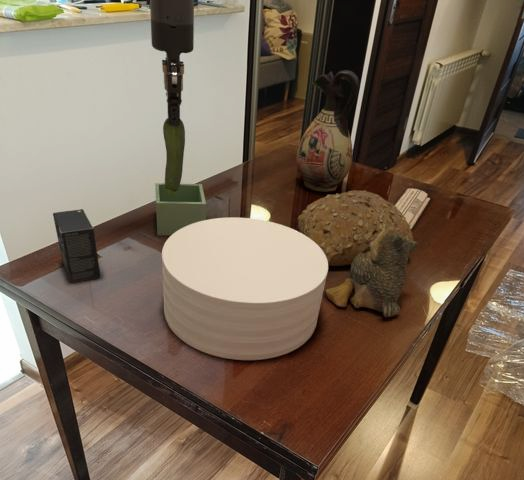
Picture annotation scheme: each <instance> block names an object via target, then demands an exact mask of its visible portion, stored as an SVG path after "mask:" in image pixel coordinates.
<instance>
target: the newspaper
mask: <svg viewBox="0 0 524 480" xmlns="http://www.w3.org/2000/svg"><path fill="white" fill-rule="evenodd" d="M430 200H431V198H430V197H428V193H426V191H424V190H421V189H418V188H412V187H411V188H407V189H406V190H405V192H404V193H403V194H402V195H401V196H400V198H399V199H398V201H397V202H396V203H395V204H394V205H395V207H397V208H398V210H399V211H400V212H401V213H402V214H403V216H404V217H405V218H406V221H407V222H408V224H410V226H411V227H410V230H412V229H413V227H414V226H415V224H416V222H417V221H418V219H419V218H420V216H421V215H422V213H423V212H424V210H425V209H426V207H427V206H428V204H429V202H430Z"/></svg>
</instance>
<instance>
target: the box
mask: <svg viewBox="0 0 524 480" xmlns="http://www.w3.org/2000/svg"><path fill="white" fill-rule="evenodd" d="M52 216H53V222H54V226H55V232H56V236H57V242H58V246H59V251H60V257H61V261H62V264H63V266H64V269H65V271H66V274H67V276H68V279H69V281H70V282H71V283H76V282H83V281H88V280H94V279H98V278H101V270H100V265H99V258H98V250H97V243H96V237H95V228H94V226H93V225H92V223H91V221H90V220H89V218H88V216H87V214H86V212H85V210H84V209H83V208H81V209H73V210H64V211H57V212H53V213H52Z"/></svg>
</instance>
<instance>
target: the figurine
mask: <svg viewBox="0 0 524 480" xmlns="http://www.w3.org/2000/svg"><path fill="white" fill-rule="evenodd" d="M417 248H418V242H417V241H416V240H413V241H412V240H407V238H406V237H404V236H403V235H402V234H400V233H398V232H396V231H394V230H387V229H382V230H381V232H380V233H379V235H378V236H377V238H376V239H375V240H373V241H371V242H370V246H368V247H366V248H365V249H364V250H363V251H362V253H360V254H359V255H358V256H356V257H355V258H354V260H353V261H352V263H351V265H350V272H349V273H348V276H347V277H346V279H345V281H344V282H343V283H341V284H340V285H338V286H335V287H330V288H327V289H325V296H326V297H327V299H328V300H329V301H330V302H332V303H333V304H334V305H335V306H337V307H339V308H346V307H347V305H348V302H349V303H350V304H351V305H352V306H354V308H355V309H359V308H367V309H369V310H374V311H377V312H379V313H382V315H383V317H384V318H390V317H394V316H398V315H399V313H401V308H400V305H399V304H398V303H399V302H398V300H399V298H400V296H401V295H402V293H403V289H404V287H405V285H406V273H407V272H406V269H407V266H408V260H409V255H410V253H412V252H413V251H415V250H417ZM353 291H354V295H353V296H352V297H351V295H352V292H353Z"/></svg>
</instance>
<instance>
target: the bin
mask: <svg viewBox="0 0 524 480" xmlns="http://www.w3.org/2000/svg"><path fill="white" fill-rule="evenodd" d="M154 186H155V187H154V188H155V211H156V214H155V215H156V233H157V235H156V236H169V237H170V236H171V235H172V234H174V233H175V232H176V231H178V230H180V229H181V228H183V227H185V226H188V225H190V224H193V223H196V222H200V221H204V220H207V202H206V197H205V192H204V188H203V184H202V183H180V186H179V189H178V190H177V191H176V193H175V195H170V194H169V195H167V193H166V192H165V189H166V188H165V182H155V183H154Z"/></svg>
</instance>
